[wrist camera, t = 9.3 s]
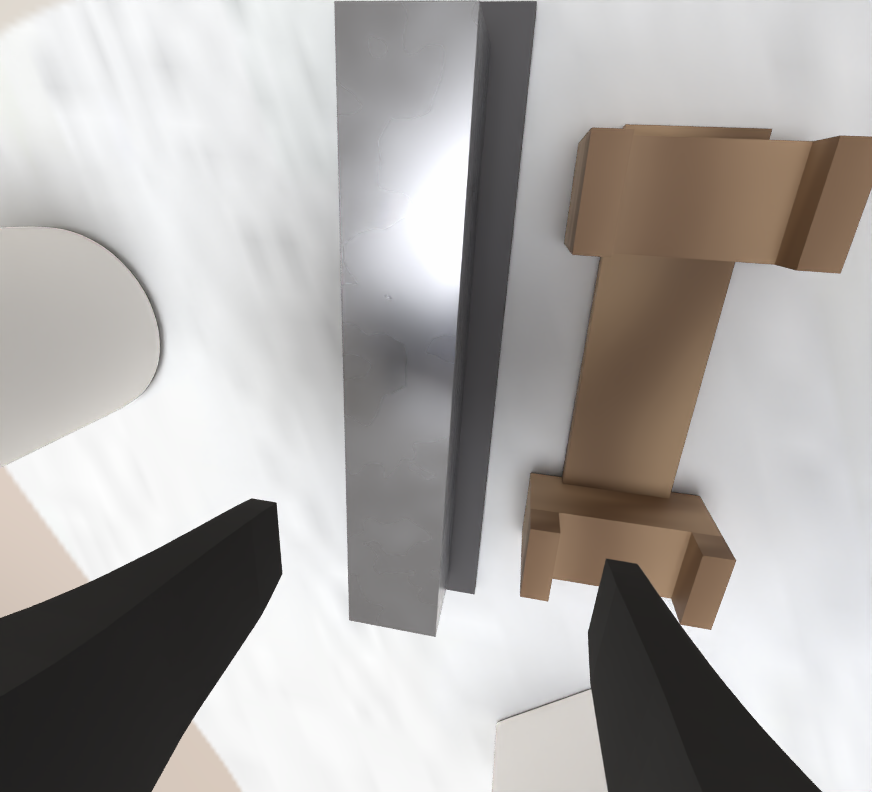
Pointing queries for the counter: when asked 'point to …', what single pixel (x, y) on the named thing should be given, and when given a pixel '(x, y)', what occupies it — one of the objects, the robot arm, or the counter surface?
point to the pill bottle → (67, 337)
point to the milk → (550, 749)
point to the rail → (406, 288)
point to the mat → (490, 270)
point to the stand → (671, 334)
